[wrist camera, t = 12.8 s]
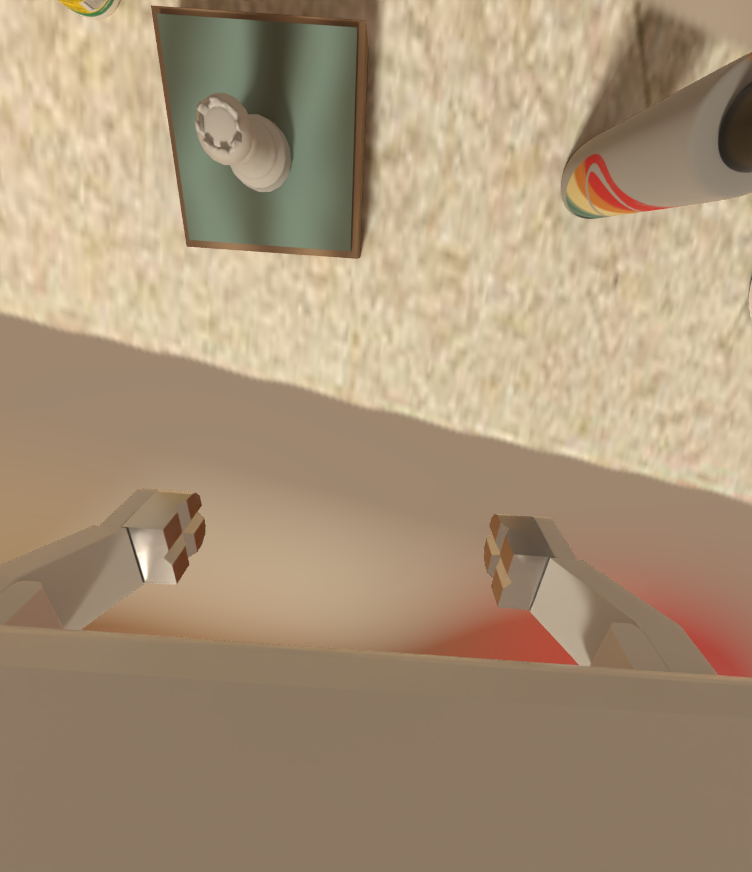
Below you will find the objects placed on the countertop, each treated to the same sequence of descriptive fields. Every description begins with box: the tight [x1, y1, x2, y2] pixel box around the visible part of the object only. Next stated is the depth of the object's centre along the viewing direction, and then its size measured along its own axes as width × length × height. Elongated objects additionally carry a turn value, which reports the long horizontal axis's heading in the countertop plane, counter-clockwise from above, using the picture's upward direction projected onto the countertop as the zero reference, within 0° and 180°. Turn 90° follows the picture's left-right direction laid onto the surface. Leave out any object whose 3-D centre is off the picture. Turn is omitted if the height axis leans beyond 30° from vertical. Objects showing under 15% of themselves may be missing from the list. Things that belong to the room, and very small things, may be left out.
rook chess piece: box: [194, 93, 291, 192], centre depth 24 cm, size 4×4×8 cm
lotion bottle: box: [561, 52, 752, 219], centre depth 22 cm, size 6×6×20 cm
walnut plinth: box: [151, 6, 368, 259], centre depth 29 cm, size 14×14×4 cm
